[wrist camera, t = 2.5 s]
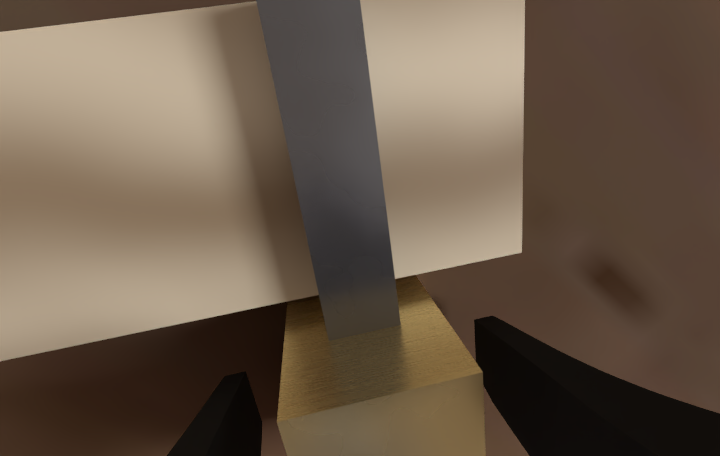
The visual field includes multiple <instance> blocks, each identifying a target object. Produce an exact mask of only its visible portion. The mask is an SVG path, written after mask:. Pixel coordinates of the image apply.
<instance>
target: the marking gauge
mask: <svg viewBox="0 0 720 456" xmlns="http://www.w3.org/2000/svg"><path fill="white" fill-rule="evenodd" d="M256 2H257V7H258V11H259V16H260V21H261V26H262V30H263V35H264V40H265V44H266V49H267V54H268V58H269V63H270V68H271V72H272V77H273V82H274V87H275V91H276V96H277V101H278V105H279V110H280V115H281V119H282V124H283V129H284V133H285V138H286V143H287V148H288V152H289V157H290V162H291V166H292V171H293V176H294V180H295V185H296V190H297V194H298V199H299V204H300V209H301V213H302V218H303V223H304V227H305V232H306V237H307V241H308V246H309V251H310V255H311V260H312V265H313V270H314V274H315V279H316V284H317V288H318V293H319V295H316V296H311V297H306V298H301V299H296V300H292V301H288V302H287V313H286V324H285V336H284V347H283V358H282V370H281V381H280V392H279V403H278V415H277V424H278V428H279V431H280V434H281V437H282V441H283V444H284V447H285V451H286V454H287V456H486V454H485V423H484V392H483V372H482V370H481V369H480V367H479V366H478V364H477V363H476V362H475V360H474V359H473V357H472V356H471V354H470V353H469V352H468V350H467V349H466V347H465V346H464V344H463V343H462V341H461V340H460V339H459V337H458V336H457V334H456V333H455V331H454V330H453V329H452V327H451V326H450V324H449V323H448V321H447V320H446V318H445V317H444V316H443V314H442V313H441V311H440V310H439V308H438V307H437V306H436V304H435V303H434V301H433V300H432V298H431V297H430V295H429V294H428V293H427V291H426V290H425V288H424V287H423V285H422V284H421V283H420V281H419V280H418V278H417V277H416V275H411V276H407V277H402V278H397V279H395V274H394V266H393V258H392V251H391V243H390V235H389V227H388V219H387V211H386V203H385V195H384V187H383V179H382V171H381V163H380V155H379V147H378V139H377V131H376V123H375V115H374V107H373V99H372V91H371V83H370V75H369V67H368V59H367V51H366V44H365V36H364V28H363V20H362V12H361V4H360V0H256Z"/></svg>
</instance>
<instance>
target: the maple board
mask: <svg viewBox="0 0 720 456" xmlns="http://www.w3.org/2000/svg"><path fill="white" fill-rule="evenodd" d="M360 4H361V12H362V20H363V28H364V36H365V44H366V51H367V59H368V67H369V75H370V83H371V91H372V99H373V107H374V115H375V123H376V131H377V139H378V147H379V155H380V163H381V171H382V179H383V187H384V195H385V203H386V211H387V219H388V227H389V235H390V243H391V251H392V258H393V266H394V274H395V279H397V278H402V277H407V276H411V275H416V274H421V273H426V272H431V271H435V270H440V269H445V268H450V267H455V266H459V265H464V264H469V263H474V262H479V261H483V260H488V259H493V258H498V257H503V256H507V255H512V254H517V253H522V192H523V113H524V34H525V0H360ZM316 295H319V293H318V288H317V284H316V279H315V274H314V270H313V265H312V260H311V255H310V251H309V246H308V241H307V237H306V232H305V227H304V223H303V218H302V213H301V209H300V204H299V199H298V194H297V190H296V185H295V180H294V176H293V171H292V166H291V162H290V157H289V152H288V148H287V143H286V138H285V133H284V129H283V124H282V119H281V115H280V110H279V105H278V101H277V96H276V91H275V87H274V82H273V77H272V72H271V68H270V63H269V58H268V54H267V49H266V44H265V40H264V35H263V30H262V26H261V21H260V16H259V11H258V7H257V2H256V1H255V2H246V3H238V4H230V5H221V6H213V7H205V8H197V9H188V10H180V11H172V12H163V13H155V14H147V15H138V16H130V17H122V18H114V19H105V20H97V21H89V22H80V23H72V24H64V25H55V26H47V27H39V28H31V29H22V30H14V31H6V32H0V361H4V360H9V359H14V358H19V357H23V356H28V355H33V354H38V353H43V352H47V351H52V350H57V349H62V348H66V347H71V346H76V345H81V344H86V343H90V342H95V341H100V340H105V339H110V338H114V337H119V336H124V335H129V334H134V333H138V332H143V331H148V330H153V329H158V328H162V327H167V326H172V325H177V324H181V323H186V322H191V321H196V320H201V319H205V318H210V317H215V316H220V315H225V314H229V313H234V312H239V311H244V310H249V309H253V308H258V307H263V306H268V305H273V304H277V303H282V302H287V301H292V300H296V299H301V298H306V297H311V296H316Z"/></svg>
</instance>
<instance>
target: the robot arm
mask: <svg viewBox="0 0 720 456" xmlns="http://www.w3.org/2000/svg"><path fill="white" fill-rule="evenodd" d="M474 323H475V348H476V363H477V364H478V366H479V367H480V369H481V370H482V372H483V385H484V387H485V389H486V391H487V392H488V394H489V396H490V398H491V400H492V402H493V403H494V405H495V406H496V408H497V409H498V411H499V412H500V414H501V415H502V416H503V418H504V419H505V421H506V422H507V424H508V425H509V427H510V428H511V430H512V431H513V433H514V434H515V435H516V437H517V438H518V440H519V441H520V443H521V444H522V446H523V447H524V448H525V450H526V451H527V453H528V454H529V456H720V414H719V413H716V412H713V411H709V410H706V409H703V408H700V407H697V406H694V405H691V404H688V403H685V402H682V401H679V400H676V399H673V398H670V397H667V396H664V395H661V394H658V393H656V392H653V391H650V390H647V389H645V388H642V387H640V386H637V385H635V384H632V383H629V382H627V381H624V380H622V379H619V378H617V377H614V376H612V375H610V374H607V373H605V372H603V371H600V370H598V369H596V368H594V367H592V366H590V365H587V364H585V363H583V362H581V361H579V360H577V359H574V358H572V357H570V356H568V355H566V354H564V353H562V352H560V351H558V350H556V349H554V348H552V347H551V346H549V345H547V344H545V343H543V342H541V341H539V340H537V339H535V338H533V337H532V336H530V335H528V334H526V333H524V332H522V331H521V330H519V329H517V328H515V327H513V326H511V325H509V324H508V323H506V322H504V321H502V320H500V319H498V318H496V317H494V316H489V317H484V318H480V319H476V320H474ZM261 441H262V421H261V418H260V415H259V412H258V408H257V405H256V402H255V399H254V396H253V393H252V390H251V387H250V384H249V381H248V377H247V374H246V372H241V373H237V374H233V375H228V376H225V377H224V378H223V380H222V381H221V382H220V384H219V385H218V386H217V388H216V389H215V391H214V392H213V393H212V395H211V396H210V398H209V399H208V400H207V402H206V403H205V405H204V406H203V408H202V409H201V410H200V412H199V413H198V415H197V416H196V417H195V419H194V420H193V421H192V423H191V424H190V426H189V427H188V428H187V430H186V431H185V432H184V434H183V435H182V436H181V438H180V439H179V441H178V442H177V443H176V445H175V446H174V447H173V448H172V450H171V451H170V452H169V453H168V455H167V456H261Z"/></svg>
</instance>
